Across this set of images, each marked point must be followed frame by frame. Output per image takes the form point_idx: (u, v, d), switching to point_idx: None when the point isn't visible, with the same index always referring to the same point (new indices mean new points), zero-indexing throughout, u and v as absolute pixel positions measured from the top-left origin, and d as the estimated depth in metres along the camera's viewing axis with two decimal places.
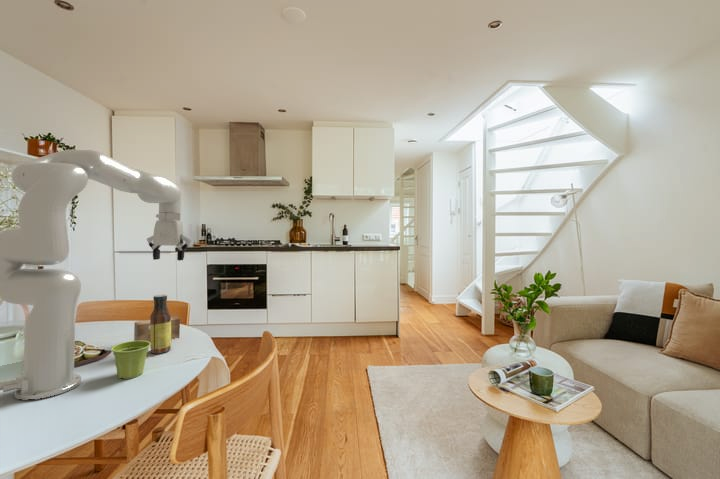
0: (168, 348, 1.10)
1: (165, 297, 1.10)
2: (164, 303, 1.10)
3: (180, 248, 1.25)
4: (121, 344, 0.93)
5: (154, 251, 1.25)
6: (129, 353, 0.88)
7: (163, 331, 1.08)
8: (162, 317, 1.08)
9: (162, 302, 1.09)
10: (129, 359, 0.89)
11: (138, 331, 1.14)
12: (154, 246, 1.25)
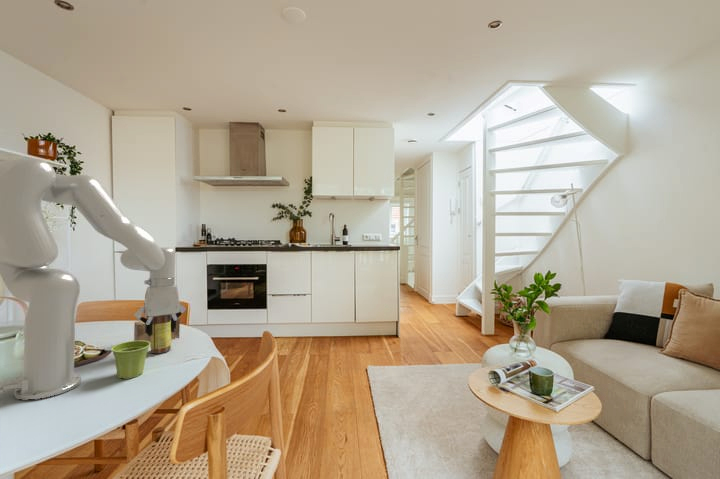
0: (168, 348, 1.10)
1: None
2: None
3: (175, 318, 1.12)
4: (120, 345, 0.93)
5: (150, 326, 1.07)
6: (129, 353, 0.88)
7: (163, 331, 1.08)
8: (162, 317, 1.08)
9: None
10: (129, 359, 0.89)
11: (138, 331, 1.14)
12: (150, 320, 1.07)
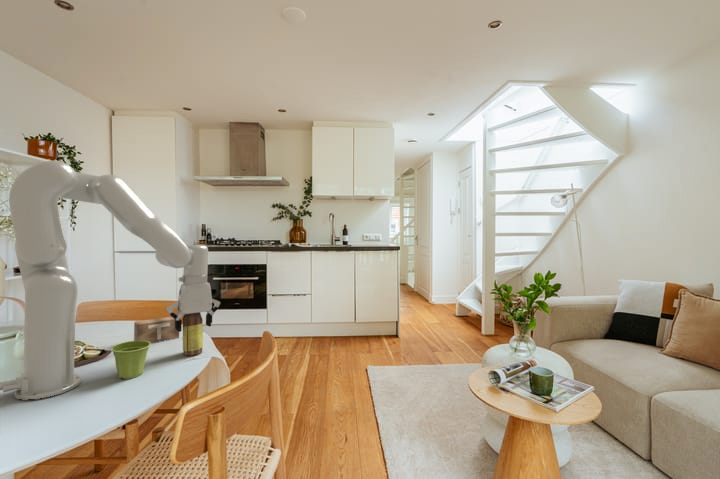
0: (200, 350, 1.09)
1: None
2: None
3: (211, 312, 1.13)
4: (121, 345, 0.93)
5: (180, 322, 1.05)
6: (129, 353, 0.88)
7: (196, 333, 1.07)
8: (195, 318, 1.07)
9: None
10: (129, 359, 0.89)
11: (138, 331, 1.15)
12: (180, 316, 1.05)
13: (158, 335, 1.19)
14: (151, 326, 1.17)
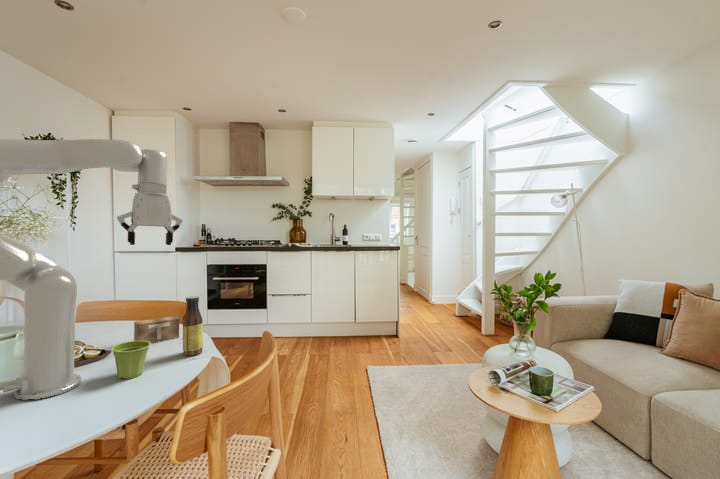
0: (200, 350, 1.09)
1: (197, 299, 1.09)
2: (196, 305, 1.09)
3: (172, 230, 1.01)
4: (121, 344, 0.93)
5: (133, 234, 0.93)
6: (129, 353, 0.88)
7: (196, 333, 1.07)
8: (195, 318, 1.07)
9: (195, 304, 1.08)
10: (129, 359, 0.89)
11: (138, 331, 1.15)
12: (133, 227, 0.93)
13: (158, 335, 1.19)
14: (151, 326, 1.17)
